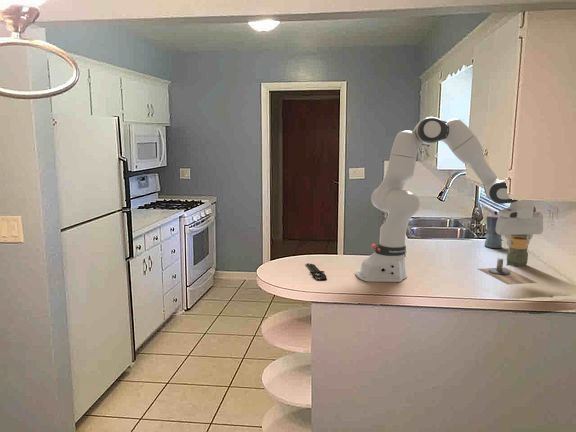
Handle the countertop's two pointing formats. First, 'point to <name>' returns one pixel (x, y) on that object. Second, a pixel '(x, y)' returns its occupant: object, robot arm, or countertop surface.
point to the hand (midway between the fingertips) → (517, 244)
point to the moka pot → (492, 232)
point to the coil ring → (518, 242)
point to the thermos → (518, 253)
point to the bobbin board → (506, 274)
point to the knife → (317, 272)
